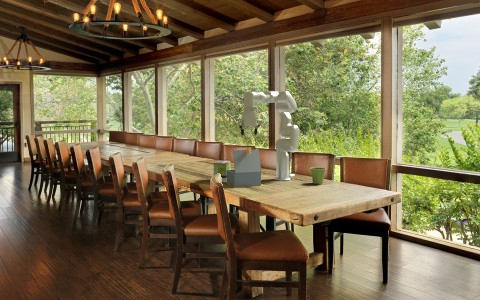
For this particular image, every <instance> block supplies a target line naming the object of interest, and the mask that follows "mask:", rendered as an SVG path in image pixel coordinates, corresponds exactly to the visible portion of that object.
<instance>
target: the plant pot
mask: <svg viewBox="0 0 480 300" xmlns="http://www.w3.org/2000/svg"><path fill="white" fill-rule="evenodd" d="M309 170H310V172H311V178H312V179H311V180H312V184H314V185H323V183H324V179H325V174H326V170H327V168H326V167H316V166H315V167H314V166H313V167H310V168H309Z"/></svg>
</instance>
